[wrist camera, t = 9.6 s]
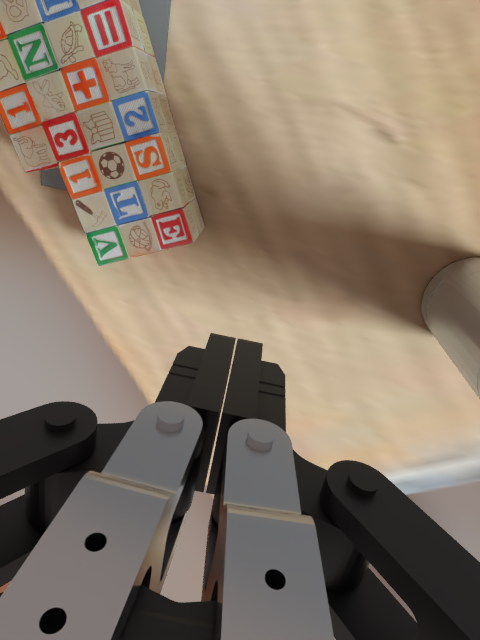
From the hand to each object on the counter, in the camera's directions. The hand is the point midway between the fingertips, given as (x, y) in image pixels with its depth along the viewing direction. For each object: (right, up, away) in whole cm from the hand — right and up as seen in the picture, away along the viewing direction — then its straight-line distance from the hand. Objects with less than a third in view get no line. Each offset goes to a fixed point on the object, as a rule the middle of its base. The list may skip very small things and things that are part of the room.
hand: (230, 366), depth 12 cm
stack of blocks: (-6, +19, +24) cm, 31 cm away
